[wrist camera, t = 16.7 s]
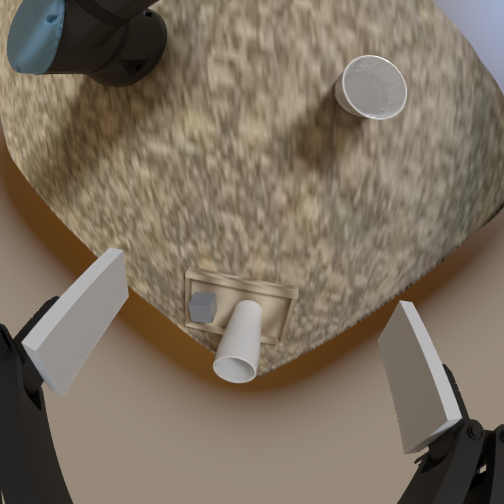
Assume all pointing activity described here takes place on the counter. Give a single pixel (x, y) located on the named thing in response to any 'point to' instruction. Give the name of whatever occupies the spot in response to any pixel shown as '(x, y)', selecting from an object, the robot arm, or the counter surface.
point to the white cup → (371, 88)
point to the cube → (203, 307)
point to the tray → (238, 289)
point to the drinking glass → (240, 344)
